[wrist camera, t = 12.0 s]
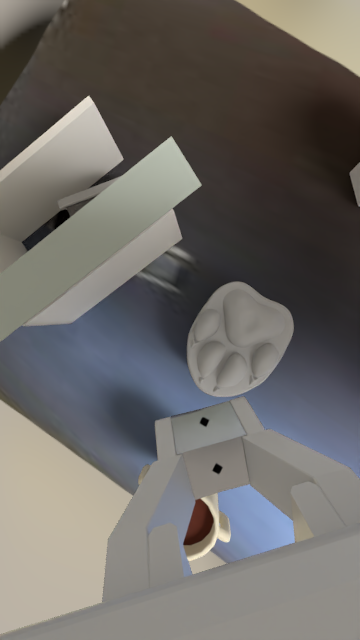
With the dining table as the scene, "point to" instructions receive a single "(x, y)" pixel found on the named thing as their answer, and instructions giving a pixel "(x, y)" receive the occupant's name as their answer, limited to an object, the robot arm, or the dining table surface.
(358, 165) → the jar
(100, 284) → the channel
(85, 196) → the electrical switch
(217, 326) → the cat paw sculpture
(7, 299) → the cover
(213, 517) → the character mug
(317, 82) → the dining table surface
